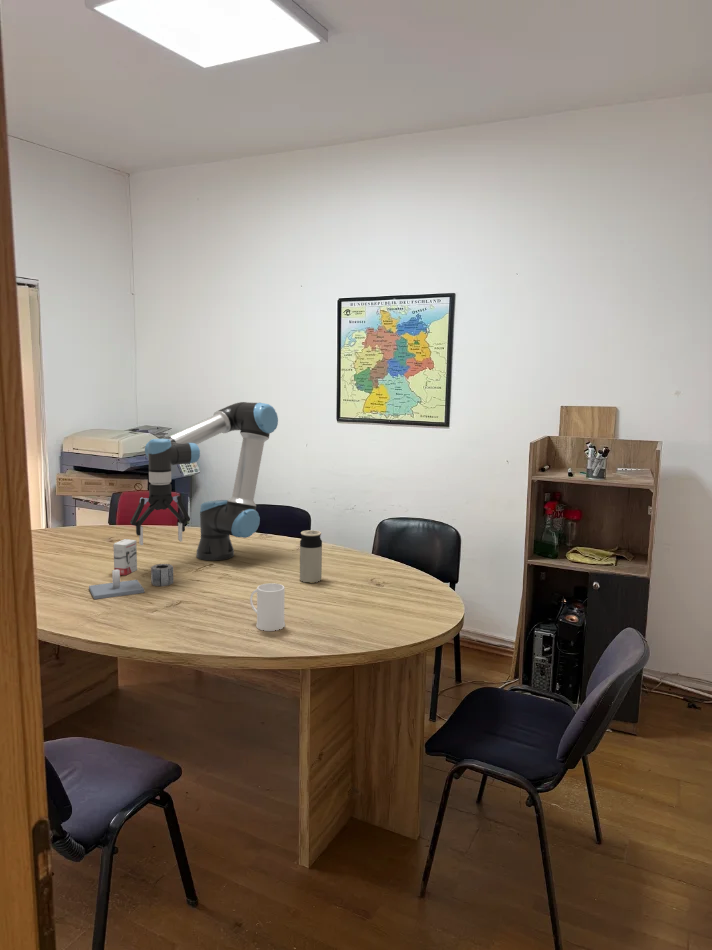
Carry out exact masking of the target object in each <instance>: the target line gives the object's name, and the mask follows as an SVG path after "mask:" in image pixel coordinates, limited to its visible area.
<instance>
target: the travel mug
mask: <svg viewBox="0 0 712 950" xmlns="http://www.w3.org/2000/svg"><path fill="white" fill-rule="evenodd" d="M300 534H301V539H300V541H299V581H300V580H301V582H302V581H303V582H302V583H305V582H316V583H319V582H321V581H322V578H323V577H322V576H323V575H322V574H323V573H322V567H323V566H322V563H323V562H322V561H323V560H322V559H323V541H322V538H321V536H322V532H321V531H320V530H314V529H313V530H311V529H310V530H308V529H307V530H302V531H301V532H300ZM320 580H321V581H320ZM318 581H319V582H318Z"/></svg>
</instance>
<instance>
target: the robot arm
mask: <svg viewBox="0 0 712 950" xmlns="http://www.w3.org/2000/svg"><path fill="white" fill-rule="evenodd" d="M278 423H279V416H278V413H277V412H276V409H275V408H274V407H273V406H272V405H271V404H269V403H264V402H247V401H240V402H235V403H233V404H230V405H227V406H225V407H223V408H221V409H219V410H216V411H215V412H214V413H213V415H211V416H210V417H207V418H206V419H204V420H201V421H198V422H196V423H194V424H192V425H190V426H188V427H186V428H184V429H181V430H180V431H176V432H174V433H173V434H171V435H168V436H166V437H163V438H152V439H150V440H149V441H147V443H146V444H145V447H144V454H145V456H146V457H147V458H148V482H149V484H148V494H149V495H148V497H139V502H138V505H137V508H136V510H135V511H134V513H133V515H132V518H131V519H130V524H131V526H134V527H135V534H136V536H137V537H138V538H139V539H138V540H139V541H138V543H139V545H140V546H144V526H143V523H144V522H145V521H146V520H147V518H148V517H149V516H150V515H151V514H152V512H154V511H155V510H156V511H160V510H167V509H168V510H169V511H170V512H171V513H172V514H173V515H174V516H175V518H176V519H177V520H179V522H177V536H178V537H177V539H178V541H179V542H183V532H186V522H189V521H191V518H190V516H189V514H188V512H187V510H186V507H184V505H183V503H182V496H180V495H179V494H176V495H175V496H172V484H171V483H172V466H176V465H190V464H195V463H196V462H198V461H199V460H200V456H201V450H200V447H199V446H198V445H199V444H201V443H203V442H206V441H207V440H209V439H212V438H213V437H216V436H217V435H219V434H228V433H230V432H233V431H239V432H240V433H239V435H240V436H241V437H242V442H241V448H240V453H239V458H238V463H237V469H236V474H235V479H234V484H233V485H234V486H233V489H232V496H231V497H230V498H229V499H219V500H218V499H217V500H210V501H204V502H202V503H201V504H200V511H199V522H200V528H199V529H200V538H199V542H198V545H197V548H196V558H197V559H199V560H204V561H225V560H228V559H232V558H233V557H234V556H235V550H234V547H233V544H232V540H231V537H230V536H233V537H236V538H244V539H245V538H247V539H248V538H249V537H251V536H253V534H255V533H256V532H257V530H258V528H259V526H260V521H261V520H260V519H261V518H260V515H259V512H258V511H257V510H256V509H257V505H256V503H255V501H254V499H255V494H256V489H257V483H258V480H259V479H258V477H259V472H260V468H261V463H262V462H261V461H262V457H263V456H262V455H263V450H264V447H265V446H264V445H265V442H267V441H268V440H269V439H270V434H272V433H274V432H275V431H276V430H277V428H278V425H279V424H278ZM173 501H174V502H175V503H176V505H177V506H178V509H179V510H180V512H181V513H182V515H183V517H182V516H181V515H180V514H179V512H178V511H177V510H176V509H175V508H174V507H173V506H172V505H171V504H172V502H173ZM147 502H148V503H149V505H148V507H147V509H146V510H145V511H144V512H143V514H141V513H142V511H143V509H144V506H145V505H147Z"/></svg>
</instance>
